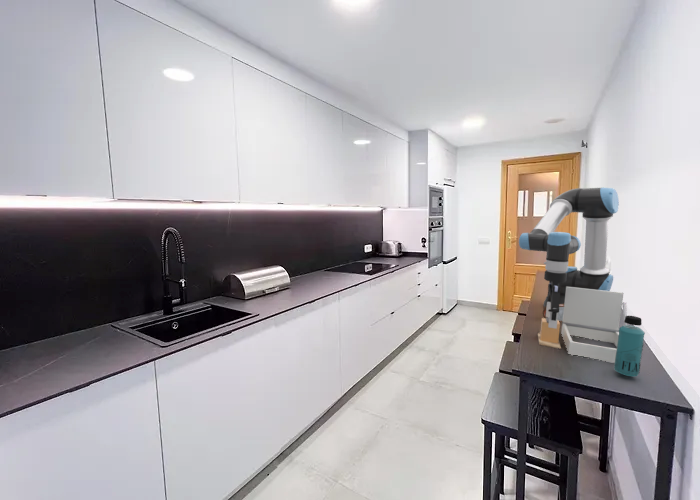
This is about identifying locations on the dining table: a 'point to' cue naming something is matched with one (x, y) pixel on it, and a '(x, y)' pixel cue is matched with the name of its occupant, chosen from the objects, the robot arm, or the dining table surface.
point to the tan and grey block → (549, 331)
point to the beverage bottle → (629, 347)
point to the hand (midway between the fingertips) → (550, 322)
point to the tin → (560, 313)
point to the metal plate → (548, 343)
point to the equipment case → (592, 321)
